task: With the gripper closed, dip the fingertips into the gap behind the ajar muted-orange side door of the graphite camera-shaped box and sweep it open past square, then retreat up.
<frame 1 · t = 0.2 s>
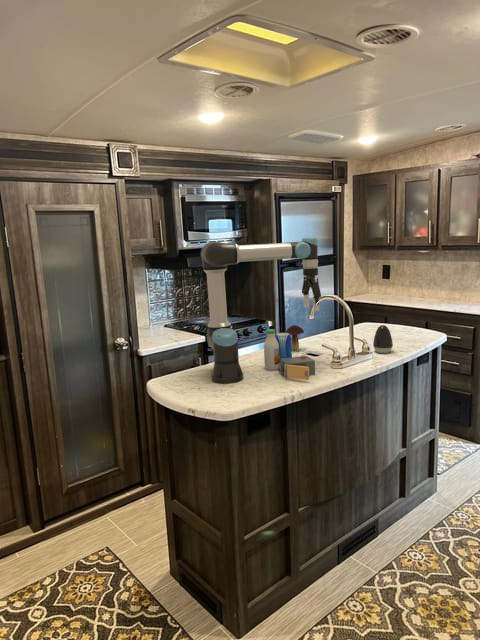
hand: (311, 309, 241), 28 cm above the counter, fingers open, 13 cm apart
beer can: (284, 364, 243), on the counter
milk bottle: (272, 368, 237), on the counter
side door: (296, 372, 214), point 4 cm above the counter, hinge at 45.0°
decorative mushroom: (295, 351, 269), on the counter
egg shaped speaker: (382, 352, 256), on the counter
camera body: (297, 373, 225), on the counter
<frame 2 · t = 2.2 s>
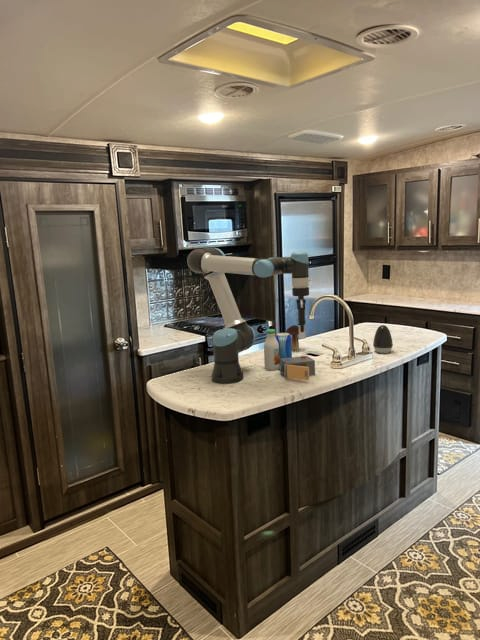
hand: (302, 337, 214), 20 cm above the counter, fingers open, 3 cm apart
nothing on the counter moved.
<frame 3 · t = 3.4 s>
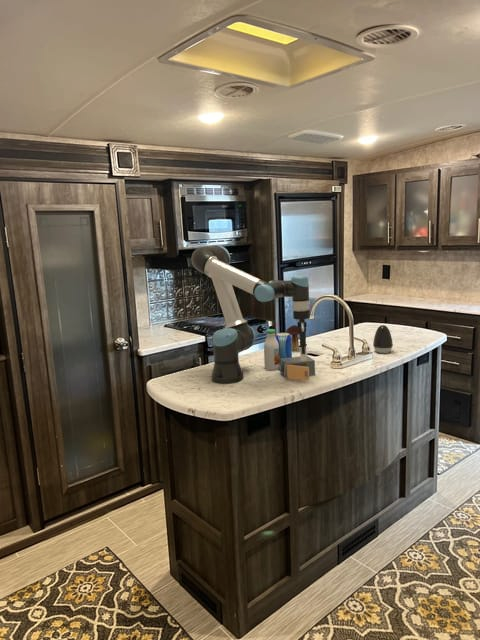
hand: (303, 360, 215), 9 cm above the counter, fingers closed
nothing on the counter moved.
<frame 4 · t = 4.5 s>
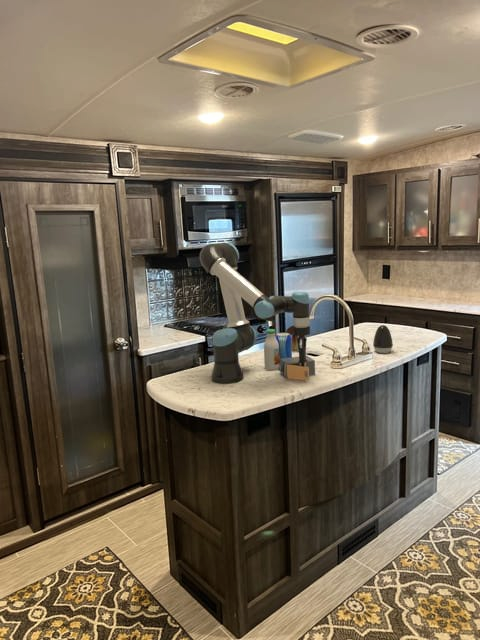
hand: (303, 375, 216), 2 cm above the counter, fingers closed
side door: (296, 372, 214), point 4 cm above the counter, hinge at 45.7°, touching gripper
everything else where it was.
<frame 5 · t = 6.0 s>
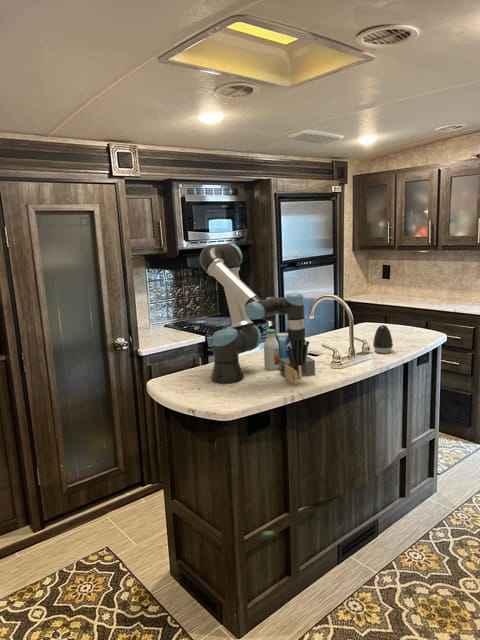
hand: (298, 379, 211), 2 cm above the counter, fingers closed
side door: (290, 374, 212), point 4 cm above the counter, hinge at 85.7°, touching gripper
everything else where it was.
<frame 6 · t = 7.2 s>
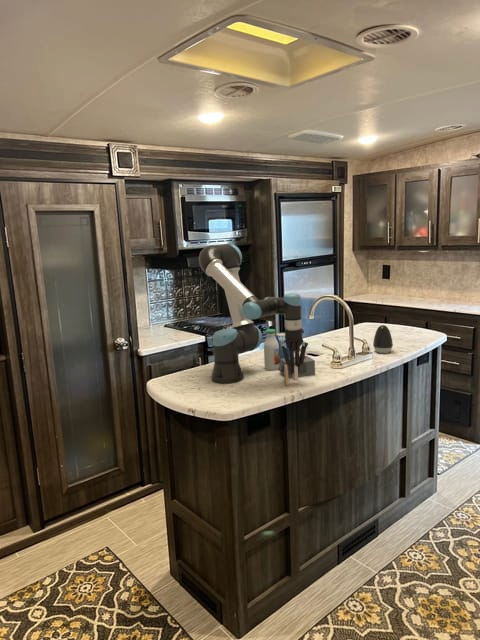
hand: (295, 379, 211), 2 cm above the counter, fingers closed
side door: (286, 374, 212), point 4 cm above the counter, hinge at 106.0°
everything else where it was.
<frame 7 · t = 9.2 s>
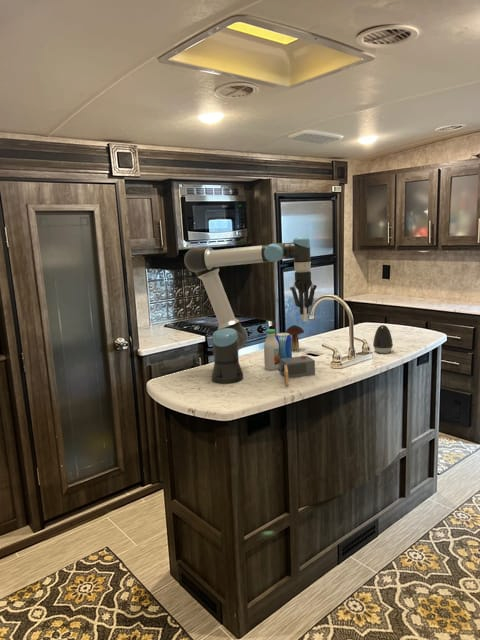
hand: (304, 320, 221), 26 cm above the counter, fingers closed
nothing on the counter moved.
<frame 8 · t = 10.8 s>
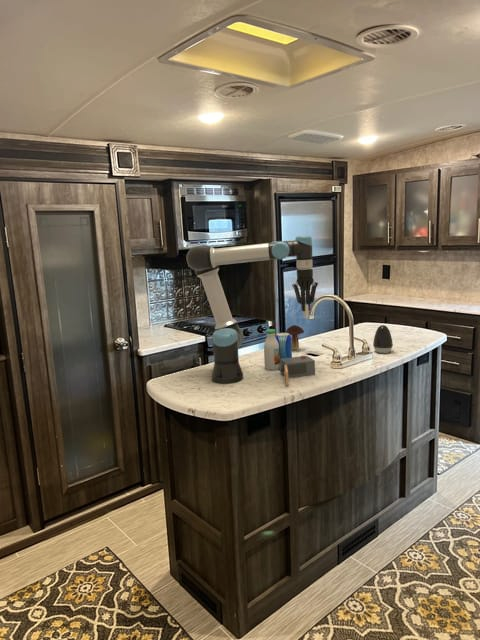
hand: (306, 317, 226), 26 cm above the counter, fingers closed
nothing on the counter moved.
at the end: side door at +106° (first picture: +45°); milk bottle moved 0.2 cm from its start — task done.
